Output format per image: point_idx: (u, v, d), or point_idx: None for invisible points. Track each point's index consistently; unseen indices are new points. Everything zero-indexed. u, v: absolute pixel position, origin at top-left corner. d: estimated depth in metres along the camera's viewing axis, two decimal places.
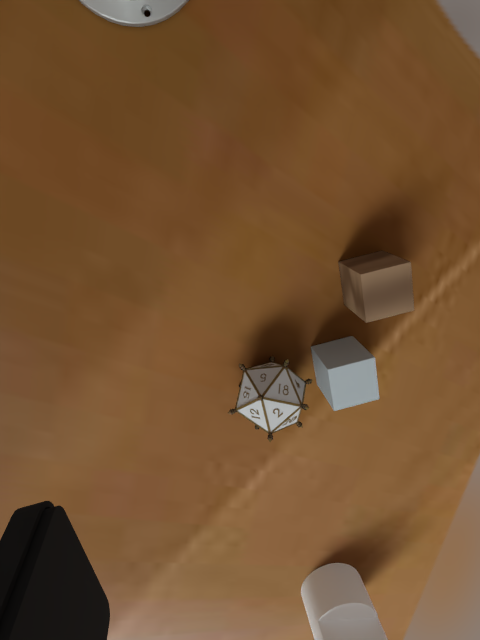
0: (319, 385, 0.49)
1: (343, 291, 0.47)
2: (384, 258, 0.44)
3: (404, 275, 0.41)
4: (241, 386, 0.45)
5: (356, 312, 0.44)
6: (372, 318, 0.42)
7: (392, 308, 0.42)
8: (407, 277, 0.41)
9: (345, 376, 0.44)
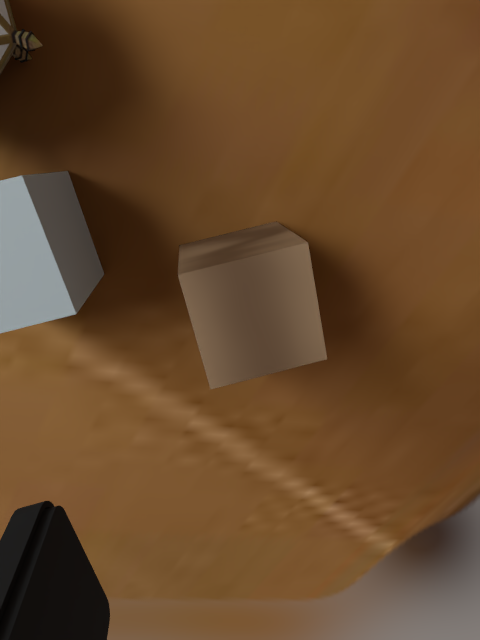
0: None
1: (212, 238, 0.21)
2: None
3: (297, 350, 0.18)
4: None
5: (185, 259, 0.18)
6: (190, 291, 0.16)
7: (215, 337, 0.17)
8: (291, 358, 0.18)
9: (4, 236, 0.15)
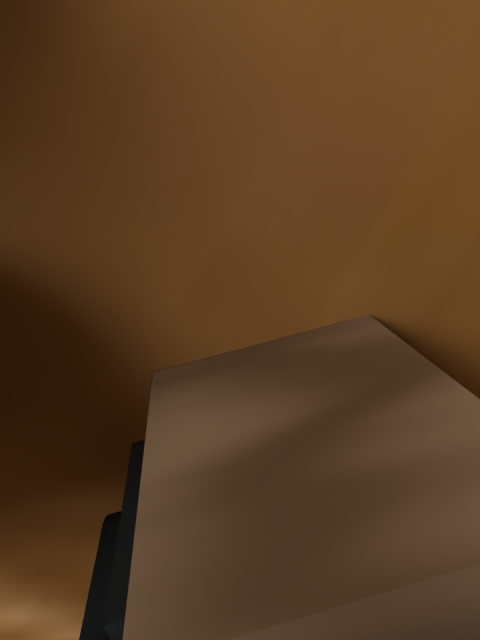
0: None
1: (229, 361, 0.09)
2: None
3: None
4: None
5: (160, 482, 0.06)
6: None
7: None
8: None
9: None
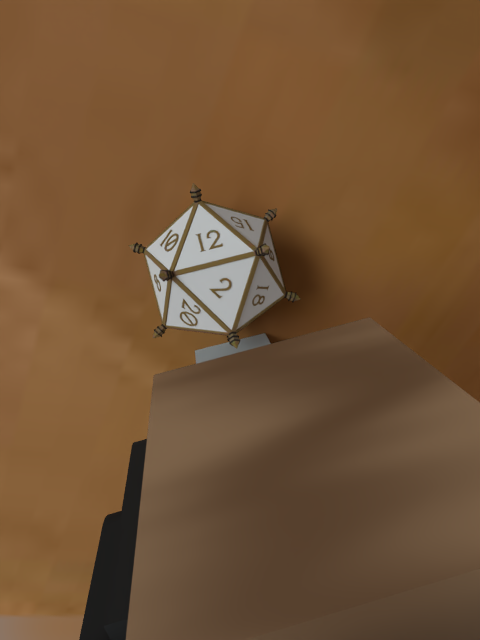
0: (202, 355, 0.29)
1: (230, 363, 0.09)
2: None
3: None
4: (241, 213, 0.23)
5: (162, 486, 0.06)
6: None
7: None
8: None
9: None
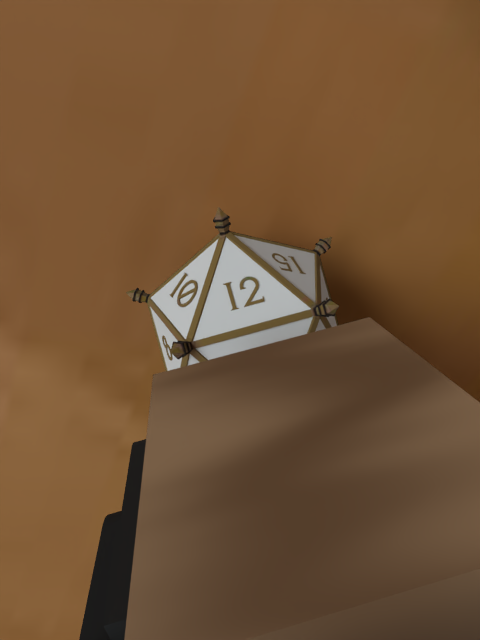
0: None
1: (229, 363, 0.09)
2: None
3: None
4: (284, 246, 0.16)
5: (161, 486, 0.06)
6: None
7: None
8: None
9: None
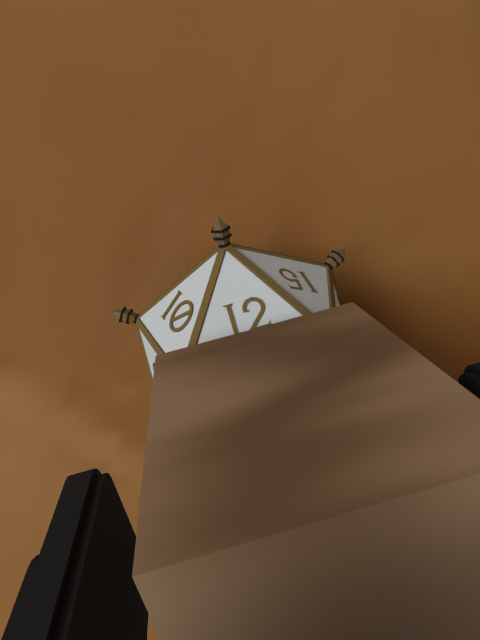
0: None
1: (225, 344, 0.10)
2: None
3: None
4: (292, 260, 0.14)
5: (163, 442, 0.07)
6: (176, 611, 0.05)
7: None
8: None
9: None
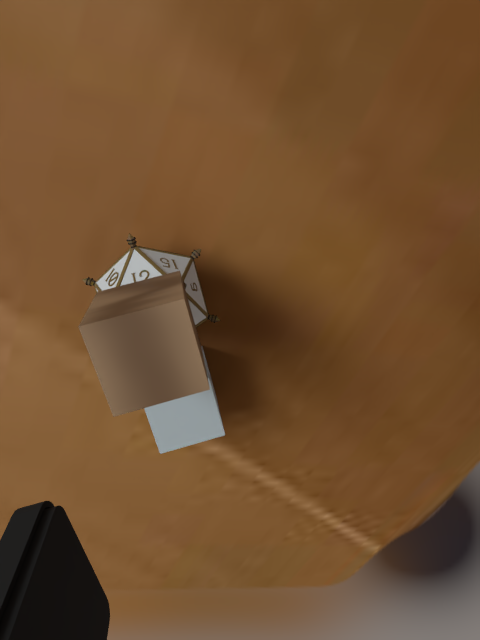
0: None
1: (124, 286, 0.25)
2: (199, 346, 0.24)
3: (183, 383, 0.22)
4: (170, 254, 0.29)
5: (92, 309, 0.22)
6: (90, 338, 0.20)
7: (114, 374, 0.21)
8: (180, 389, 0.22)
9: (197, 403, 0.31)
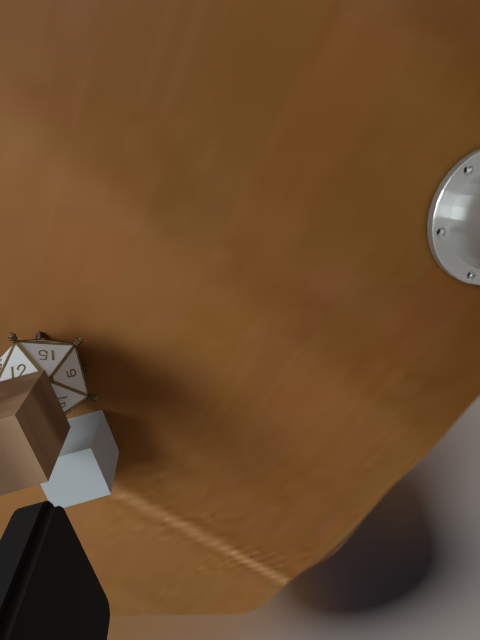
0: None
1: None
2: (54, 437, 0.29)
3: (24, 477, 0.26)
4: (51, 344, 0.34)
5: None
6: None
7: None
8: (22, 482, 0.26)
9: (82, 468, 0.36)
